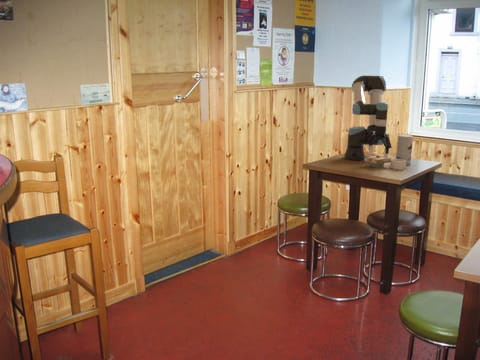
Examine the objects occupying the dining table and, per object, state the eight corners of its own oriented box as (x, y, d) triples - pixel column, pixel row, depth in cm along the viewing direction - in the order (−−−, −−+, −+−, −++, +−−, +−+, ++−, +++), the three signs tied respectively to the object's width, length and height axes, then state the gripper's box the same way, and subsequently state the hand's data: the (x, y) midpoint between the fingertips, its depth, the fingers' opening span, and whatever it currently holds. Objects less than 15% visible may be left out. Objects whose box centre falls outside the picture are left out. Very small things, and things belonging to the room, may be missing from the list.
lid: (365, 160, 352) (365, 155, 351) (377, 159, 358) (378, 153, 357) (377, 164, 342) (378, 158, 341) (390, 162, 348) (391, 156, 347)
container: (411, 165, 356) (413, 136, 351) (396, 164, 358) (398, 136, 353) (409, 162, 366) (412, 134, 361) (395, 161, 368) (397, 134, 363)
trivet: (370, 166, 352) (371, 161, 351) (377, 165, 355) (377, 160, 354) (377, 167, 347) (377, 162, 346) (383, 166, 350) (384, 162, 349)
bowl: (387, 167, 349) (388, 159, 347) (397, 166, 353) (398, 158, 352) (398, 170, 341) (398, 162, 339) (408, 168, 345) (408, 160, 344)
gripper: (363, 123, 353) (361, 154, 357) (390, 128, 332) (387, 160, 336) (371, 123, 356) (369, 153, 361) (398, 127, 335) (396, 159, 340)
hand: (378, 156), depth 349 cm, fingers open, 13 cm apart
